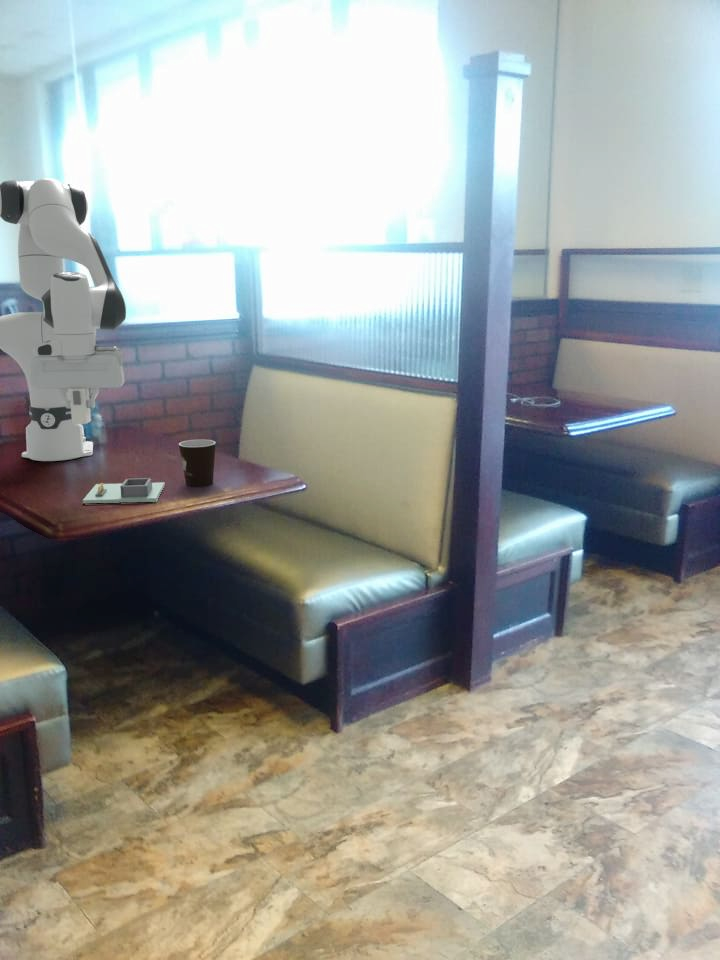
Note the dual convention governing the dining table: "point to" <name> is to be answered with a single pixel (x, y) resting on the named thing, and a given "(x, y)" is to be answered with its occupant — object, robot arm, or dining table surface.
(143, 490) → the board
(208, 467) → the coffee mug
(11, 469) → the dining table surface
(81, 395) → the plug
